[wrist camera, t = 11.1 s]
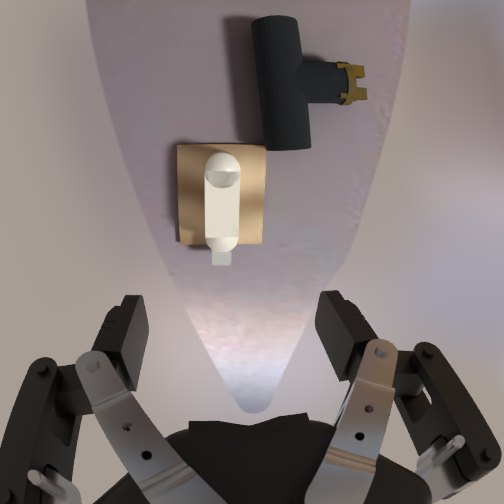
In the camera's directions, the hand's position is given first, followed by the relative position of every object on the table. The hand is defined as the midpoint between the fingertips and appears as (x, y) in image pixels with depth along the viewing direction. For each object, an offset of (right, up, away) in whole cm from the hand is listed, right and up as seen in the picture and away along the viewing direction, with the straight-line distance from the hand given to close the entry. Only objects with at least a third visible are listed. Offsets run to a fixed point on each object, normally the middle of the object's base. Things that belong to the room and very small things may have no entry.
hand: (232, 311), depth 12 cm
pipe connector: (+7, +22, +16) cm, 28 cm away
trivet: (-3, +9, +20) cm, 22 cm away
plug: (-3, +8, +20) cm, 22 cm away
